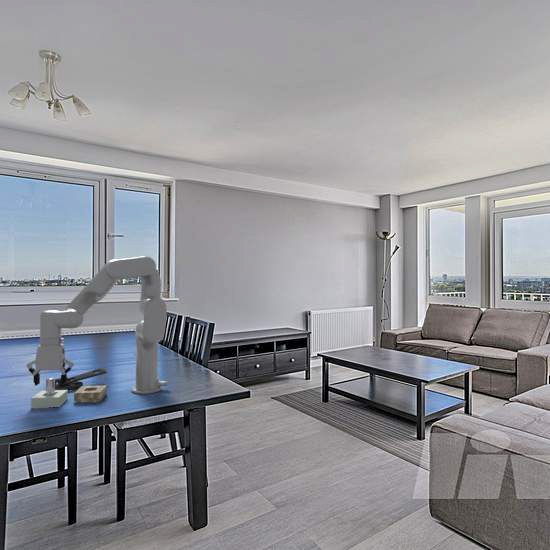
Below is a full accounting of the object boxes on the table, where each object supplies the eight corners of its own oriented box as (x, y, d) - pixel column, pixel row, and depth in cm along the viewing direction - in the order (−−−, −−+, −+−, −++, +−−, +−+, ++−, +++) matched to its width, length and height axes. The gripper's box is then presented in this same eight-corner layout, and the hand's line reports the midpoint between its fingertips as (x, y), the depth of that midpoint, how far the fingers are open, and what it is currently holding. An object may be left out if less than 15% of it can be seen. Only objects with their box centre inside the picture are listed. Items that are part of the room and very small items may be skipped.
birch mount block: (106, 394, 175) (106, 385, 175) (100, 402, 165) (100, 392, 165) (81, 395, 173) (81, 386, 173) (74, 403, 163) (74, 393, 163)
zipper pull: (108, 371, 190) (49, 380, 173) (108, 385, 190) (49, 395, 173) (101, 367, 196) (43, 375, 179) (101, 381, 196) (43, 390, 179)
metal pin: (55, 402, 164) (55, 377, 164) (52, 404, 161) (53, 379, 161) (47, 402, 163) (48, 378, 163) (44, 405, 160) (45, 380, 160)
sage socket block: (67, 399, 168) (67, 389, 168) (58, 407, 158) (58, 397, 158) (41, 400, 166) (41, 390, 166) (31, 408, 156) (31, 398, 156)
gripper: (76, 339, 167) (76, 381, 167) (31, 340, 164) (30, 382, 164) (70, 342, 159) (70, 386, 159) (22, 343, 157) (22, 387, 157)
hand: (50, 384), depth 162 cm, fingers open, 9 cm apart
